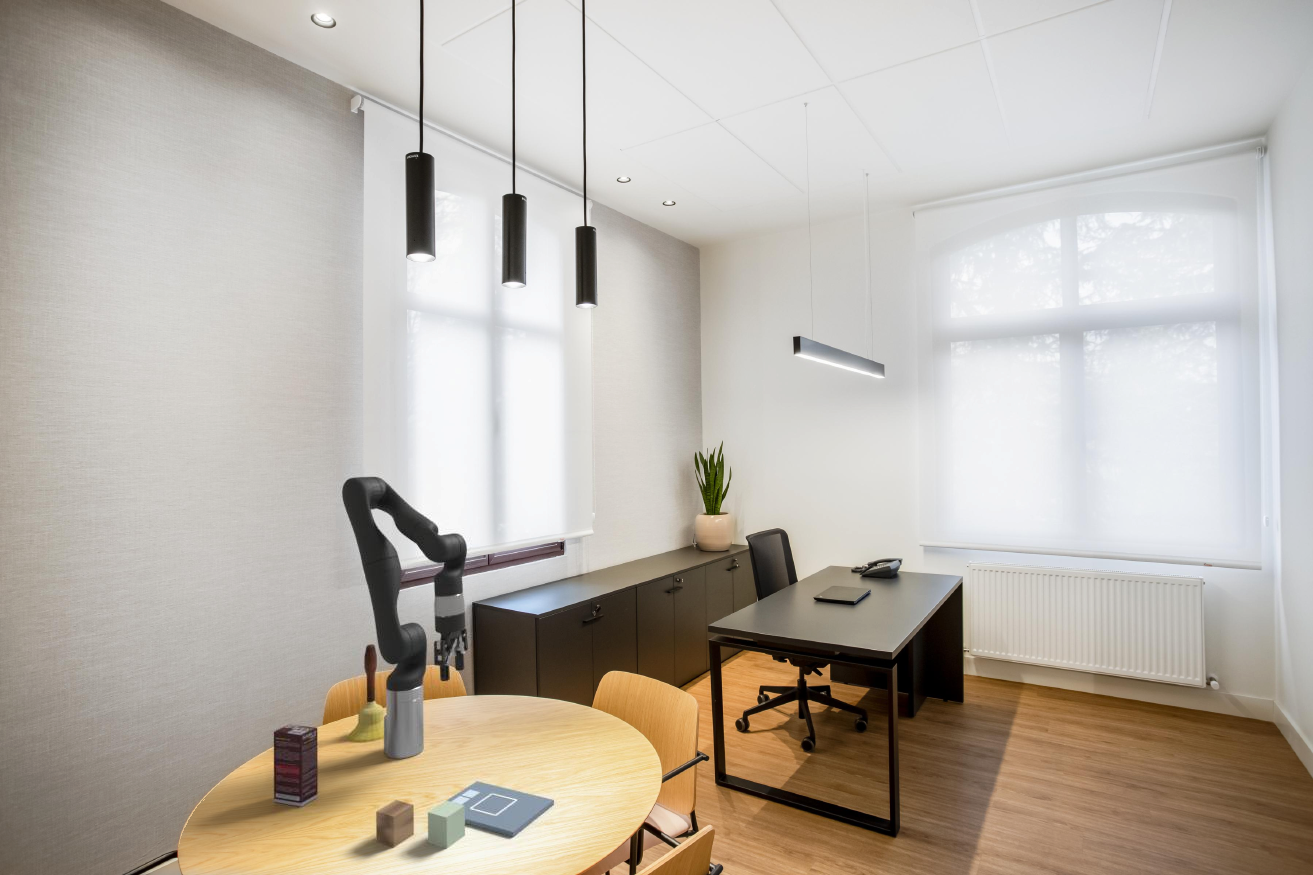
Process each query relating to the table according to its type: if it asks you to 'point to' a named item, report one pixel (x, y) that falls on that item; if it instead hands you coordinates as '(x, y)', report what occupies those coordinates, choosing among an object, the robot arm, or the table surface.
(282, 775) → the supplement box
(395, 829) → the walnut block
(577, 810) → the table surface
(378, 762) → the table surface
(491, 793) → the board
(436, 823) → the sage block
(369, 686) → the handbell
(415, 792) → the table surface
